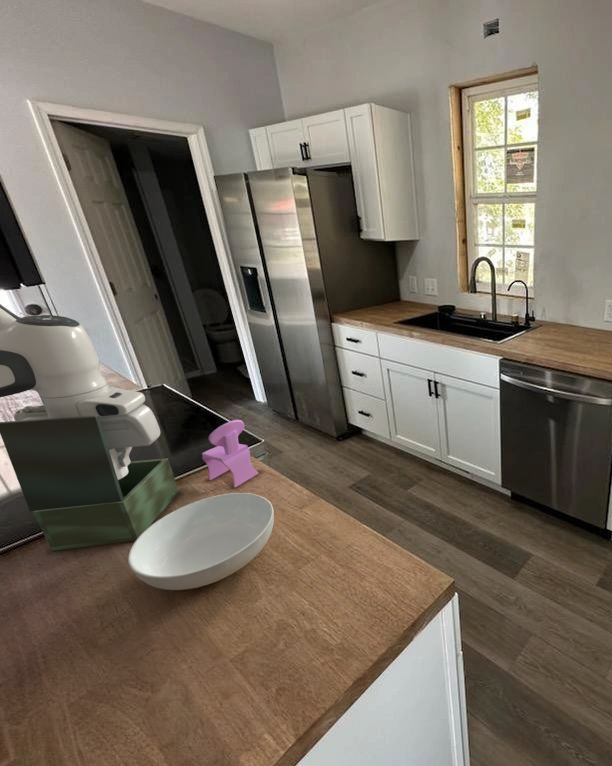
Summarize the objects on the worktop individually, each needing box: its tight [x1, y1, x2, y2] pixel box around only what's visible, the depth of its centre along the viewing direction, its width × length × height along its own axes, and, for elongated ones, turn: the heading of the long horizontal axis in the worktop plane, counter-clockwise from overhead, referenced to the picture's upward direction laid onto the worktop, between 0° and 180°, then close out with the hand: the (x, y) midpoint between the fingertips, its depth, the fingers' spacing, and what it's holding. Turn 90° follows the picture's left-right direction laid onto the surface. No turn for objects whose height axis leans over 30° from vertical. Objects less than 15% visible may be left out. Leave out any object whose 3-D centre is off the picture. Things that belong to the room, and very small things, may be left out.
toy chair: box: [201, 419, 259, 488], centre depth 96 cm, size 8×9×15 cm
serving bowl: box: [127, 492, 275, 591], centre depth 74 cm, size 21×21×7 cm
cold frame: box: [32, 457, 180, 552], centre depth 83 cm, size 16×14×9 cm
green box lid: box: [0, 416, 124, 512], centre depth 72 cm, size 17×14×1 cm
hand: (105, 467), depth 81 cm, fingers closed on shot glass, 5 cm apart
